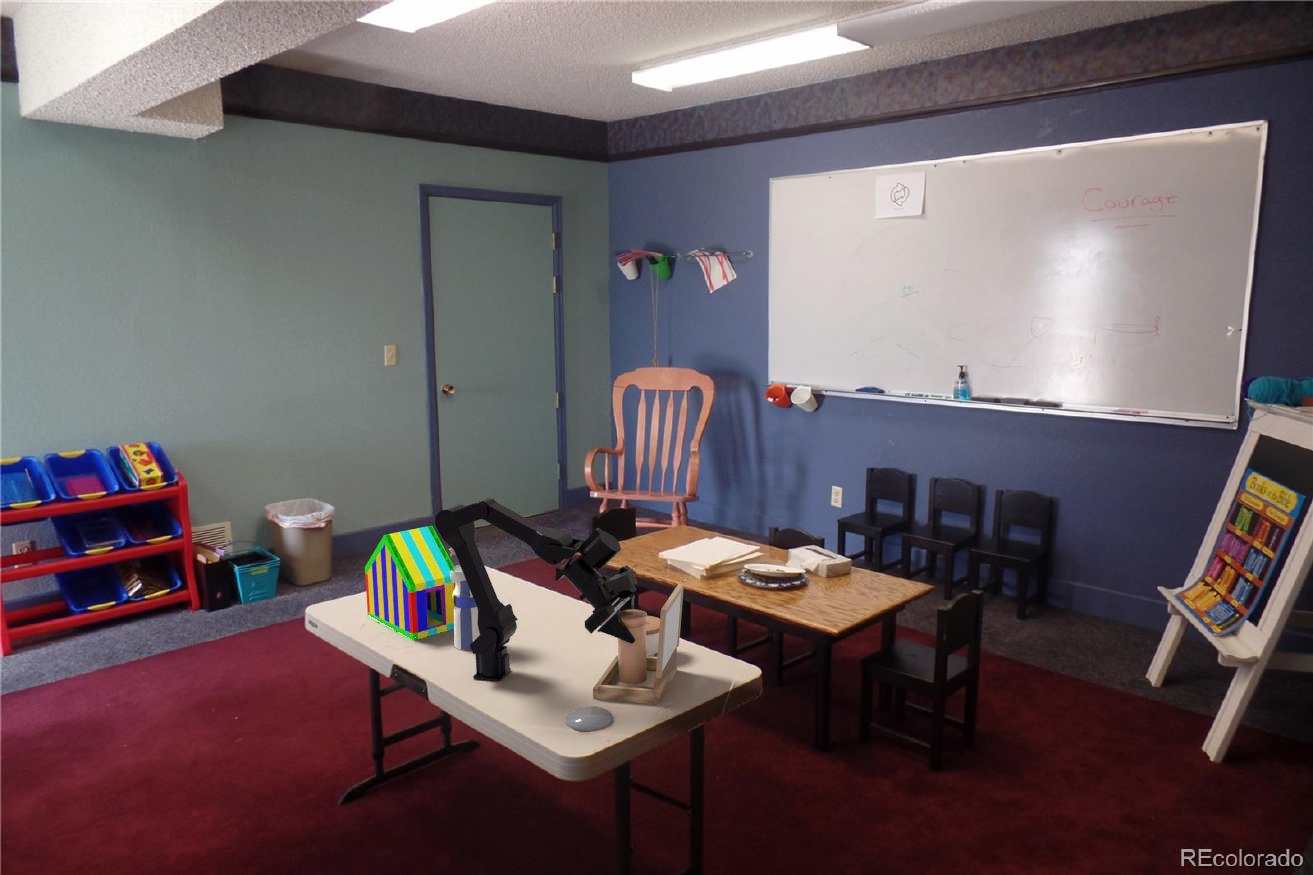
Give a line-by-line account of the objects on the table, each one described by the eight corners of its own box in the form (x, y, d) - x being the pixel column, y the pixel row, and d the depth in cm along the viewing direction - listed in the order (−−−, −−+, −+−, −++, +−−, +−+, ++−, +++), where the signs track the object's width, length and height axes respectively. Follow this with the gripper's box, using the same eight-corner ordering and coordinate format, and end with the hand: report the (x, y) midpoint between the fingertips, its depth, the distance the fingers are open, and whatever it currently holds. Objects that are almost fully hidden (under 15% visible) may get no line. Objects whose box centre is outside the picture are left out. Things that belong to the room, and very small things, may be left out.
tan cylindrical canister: (613, 683, 182) (611, 619, 180) (622, 671, 188) (620, 608, 186) (644, 685, 180) (642, 620, 179) (651, 673, 187) (650, 610, 185)
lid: (655, 677, 176) (654, 609, 175) (674, 645, 194) (673, 582, 192) (666, 678, 176) (665, 609, 174) (684, 645, 194) (683, 582, 192)
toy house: (367, 618, 233) (362, 527, 230) (413, 606, 242) (409, 518, 239) (413, 641, 216) (408, 542, 212) (460, 627, 225) (456, 532, 222)
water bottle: (448, 651, 208) (443, 549, 205) (456, 638, 217) (452, 540, 213) (482, 651, 208) (478, 549, 205) (489, 638, 217) (485, 540, 213)
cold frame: (593, 699, 180) (592, 672, 180) (616, 666, 198) (616, 641, 197) (658, 705, 177) (658, 677, 177) (676, 671, 195) (676, 645, 194)
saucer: (559, 729, 168) (559, 724, 167) (574, 709, 176) (573, 704, 176) (604, 733, 166) (603, 729, 165) (616, 713, 174) (616, 708, 174)
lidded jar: (639, 643, 212) (639, 605, 211) (674, 653, 205) (673, 614, 204) (610, 656, 204) (609, 617, 203) (644, 667, 197) (644, 627, 196)
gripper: (598, 569, 173) (652, 628, 171) (627, 546, 191) (676, 599, 189) (562, 604, 176) (614, 662, 175) (594, 578, 194) (641, 630, 192)
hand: (638, 636), depth 183 cm, fingers closed on tan cylindrical canister, 6 cm apart
